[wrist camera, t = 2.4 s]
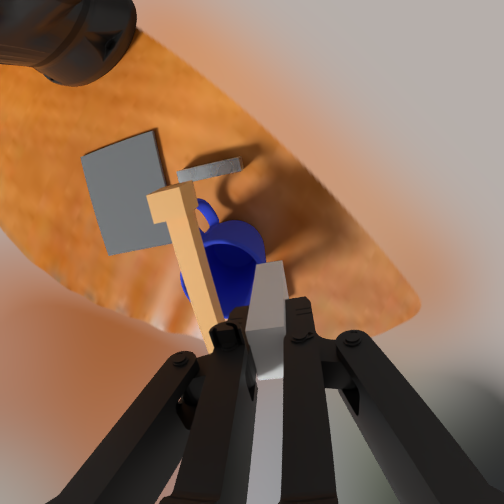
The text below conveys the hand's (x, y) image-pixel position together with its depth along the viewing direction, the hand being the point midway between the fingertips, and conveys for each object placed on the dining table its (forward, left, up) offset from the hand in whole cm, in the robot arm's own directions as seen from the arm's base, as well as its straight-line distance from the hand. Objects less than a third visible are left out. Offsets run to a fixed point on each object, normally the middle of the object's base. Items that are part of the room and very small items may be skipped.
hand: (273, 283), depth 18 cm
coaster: (-5, -18, -19) cm, 26 cm away
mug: (+2, -6, -19) cm, 20 cm away
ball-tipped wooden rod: (+3, -6, -6) cm, 9 cm away
